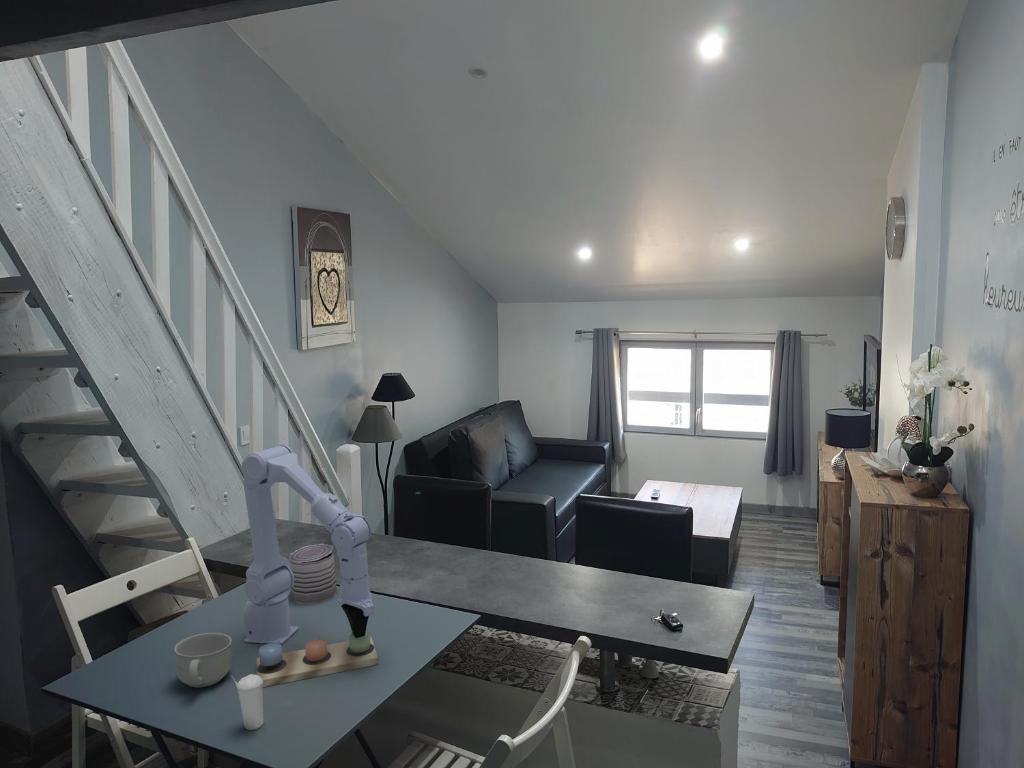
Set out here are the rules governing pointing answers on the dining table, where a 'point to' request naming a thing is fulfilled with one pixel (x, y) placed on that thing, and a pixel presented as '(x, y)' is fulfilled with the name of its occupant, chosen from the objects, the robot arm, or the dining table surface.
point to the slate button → (270, 654)
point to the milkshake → (251, 700)
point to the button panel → (315, 664)
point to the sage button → (359, 643)
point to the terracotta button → (316, 650)
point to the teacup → (203, 659)
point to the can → (313, 574)
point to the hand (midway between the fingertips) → (359, 636)
